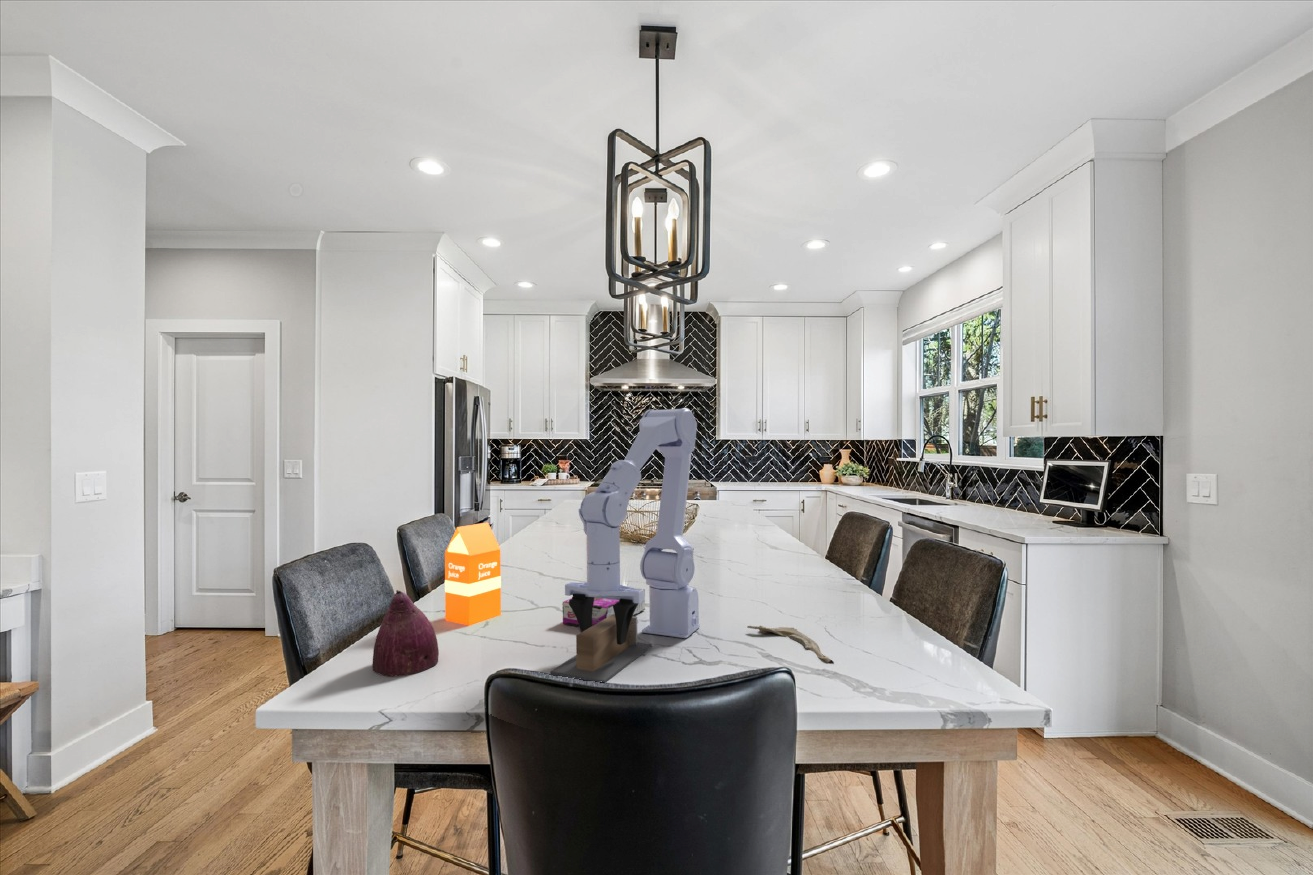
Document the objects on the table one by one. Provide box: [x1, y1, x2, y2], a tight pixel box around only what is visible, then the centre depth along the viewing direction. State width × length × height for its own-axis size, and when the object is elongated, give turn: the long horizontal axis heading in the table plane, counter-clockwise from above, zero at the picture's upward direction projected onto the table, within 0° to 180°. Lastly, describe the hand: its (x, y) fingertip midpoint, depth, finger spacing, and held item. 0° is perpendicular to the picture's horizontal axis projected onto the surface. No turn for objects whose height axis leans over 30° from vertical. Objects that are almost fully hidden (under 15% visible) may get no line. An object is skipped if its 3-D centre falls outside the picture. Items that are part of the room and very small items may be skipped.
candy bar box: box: [562, 587, 646, 627], centre depth 129 cm, size 11×5×16 cm
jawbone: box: [746, 625, 835, 664], centre depth 112 cm, size 9×20×2 cm, turn 35°
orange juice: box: [444, 522, 502, 626], centre depth 129 cm, size 8×9×20 cm
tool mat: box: [549, 641, 653, 683], centre depth 104 cm, size 10×18×1 cm, turn 156°
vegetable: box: [371, 589, 440, 678], centre depth 101 cm, size 10×10×15 cm
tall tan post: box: [575, 613, 638, 672], centre depth 104 cm, size 14×6×6 cm, turn 156°
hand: (604, 640), depth 104 cm, fingers open, 6 cm apart
